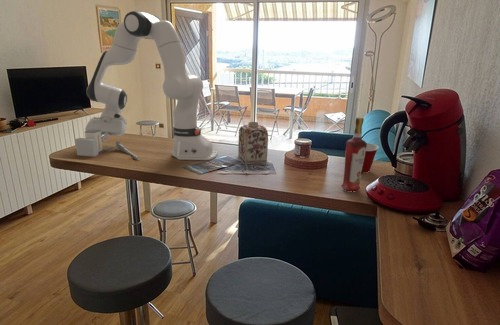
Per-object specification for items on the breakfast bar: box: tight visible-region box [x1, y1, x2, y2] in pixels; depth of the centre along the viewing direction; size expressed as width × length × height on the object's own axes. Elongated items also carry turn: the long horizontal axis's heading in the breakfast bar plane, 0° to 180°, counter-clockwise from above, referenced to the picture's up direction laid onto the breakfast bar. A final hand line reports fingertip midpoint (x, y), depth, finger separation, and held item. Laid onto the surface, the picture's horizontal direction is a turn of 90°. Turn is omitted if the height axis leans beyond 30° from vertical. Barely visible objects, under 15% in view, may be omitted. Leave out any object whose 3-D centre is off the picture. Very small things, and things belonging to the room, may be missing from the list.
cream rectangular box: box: [84, 129, 104, 152], centre depth 159 cm, size 5×5×11 cm
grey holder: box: [74, 137, 115, 158], centre depth 161 cm, size 14×18×9 cm
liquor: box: [341, 116, 368, 193], centre depth 122 cm, size 7×7×28 cm
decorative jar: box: [237, 121, 269, 163], centre depth 159 cm, size 12×12×18 cm
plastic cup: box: [362, 142, 380, 173], centre depth 146 cm, size 11×11×12 cm
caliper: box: [115, 140, 141, 161], centre depth 160 cm, size 20×1×6 cm, turn 49°
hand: (100, 140), depth 165 cm, fingers closed
